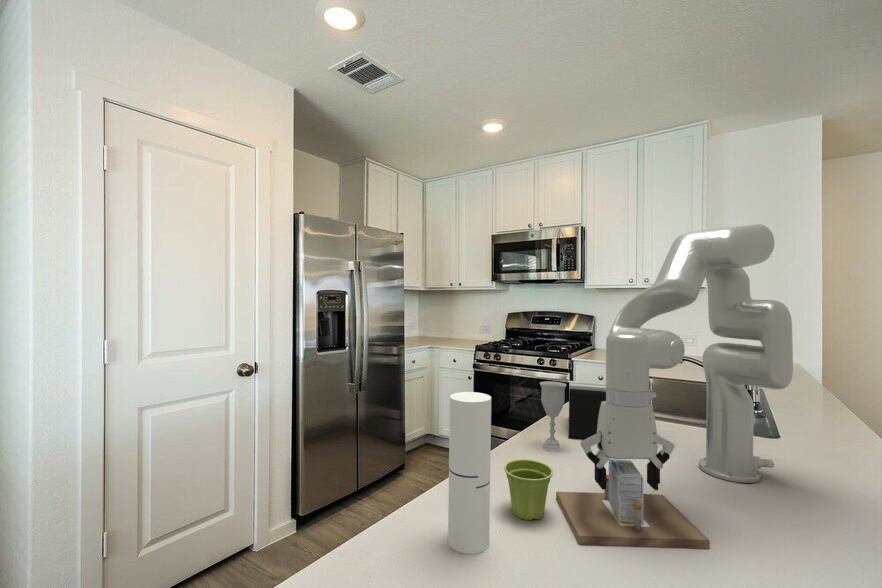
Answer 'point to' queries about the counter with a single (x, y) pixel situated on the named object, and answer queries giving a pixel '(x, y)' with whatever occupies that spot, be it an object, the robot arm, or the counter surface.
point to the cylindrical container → (469, 472)
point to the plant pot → (528, 487)
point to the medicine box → (625, 489)
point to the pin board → (602, 526)
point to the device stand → (584, 408)
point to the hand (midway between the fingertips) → (626, 486)
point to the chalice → (552, 409)
